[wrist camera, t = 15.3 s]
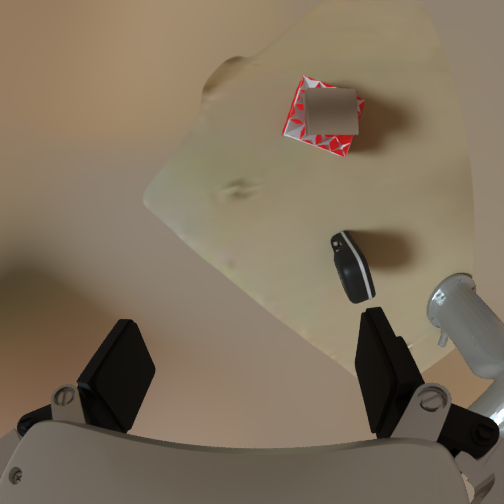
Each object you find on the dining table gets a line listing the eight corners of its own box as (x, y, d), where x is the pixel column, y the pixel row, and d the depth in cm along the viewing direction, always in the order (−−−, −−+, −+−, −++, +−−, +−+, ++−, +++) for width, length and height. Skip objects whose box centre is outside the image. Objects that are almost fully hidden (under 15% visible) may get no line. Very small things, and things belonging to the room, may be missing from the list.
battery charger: (323, 236, 44) (338, 269, 33) (345, 227, 43) (366, 257, 32) (336, 272, 46) (352, 312, 36) (357, 264, 45) (378, 302, 35)
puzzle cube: (349, 105, 36) (365, 99, 28) (332, 153, 39) (345, 157, 31) (297, 86, 35) (302, 75, 28) (281, 134, 38) (282, 134, 31)
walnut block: (346, 134, 30) (358, 135, 26) (305, 134, 31) (311, 134, 26) (344, 94, 28) (355, 88, 24) (302, 94, 29) (307, 87, 24)
